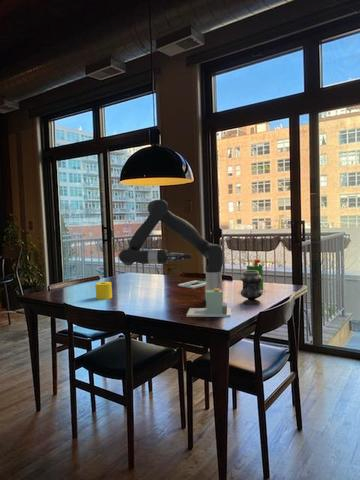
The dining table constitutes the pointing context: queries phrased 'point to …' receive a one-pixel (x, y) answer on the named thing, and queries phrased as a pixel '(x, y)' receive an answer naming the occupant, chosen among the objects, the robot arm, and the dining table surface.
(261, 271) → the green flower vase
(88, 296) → the dining table surface
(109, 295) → the yellow cylindrical piece
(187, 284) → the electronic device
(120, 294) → the dining table surface
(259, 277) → the apothecary jar
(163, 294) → the dining table surface
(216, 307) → the block
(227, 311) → the din plate
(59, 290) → the dining table surface
